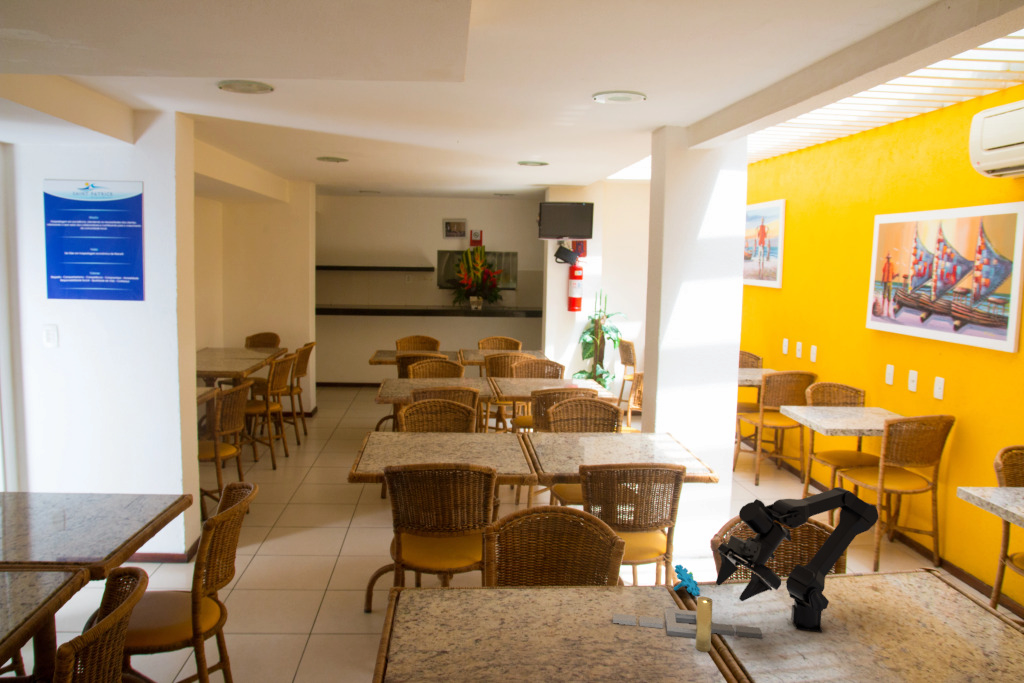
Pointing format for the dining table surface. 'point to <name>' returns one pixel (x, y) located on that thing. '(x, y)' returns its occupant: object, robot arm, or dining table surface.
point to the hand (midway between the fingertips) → (728, 592)
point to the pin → (703, 624)
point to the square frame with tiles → (685, 629)
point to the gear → (686, 580)
